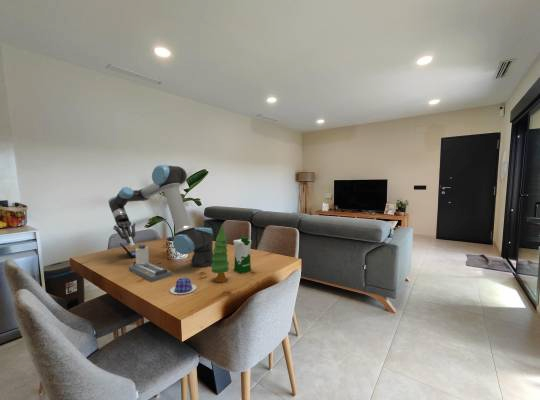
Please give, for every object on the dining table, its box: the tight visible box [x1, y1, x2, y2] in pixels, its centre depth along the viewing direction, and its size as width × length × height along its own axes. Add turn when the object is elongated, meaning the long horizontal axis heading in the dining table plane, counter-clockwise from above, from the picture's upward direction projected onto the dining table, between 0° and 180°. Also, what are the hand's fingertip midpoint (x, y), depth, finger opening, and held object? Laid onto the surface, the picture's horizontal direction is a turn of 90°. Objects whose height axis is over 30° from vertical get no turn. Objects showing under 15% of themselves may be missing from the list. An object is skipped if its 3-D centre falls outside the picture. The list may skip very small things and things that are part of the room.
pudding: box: [169, 277, 197, 295], centre depth 118 cm, size 12×12×5 cm
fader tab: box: [135, 244, 150, 266], centre depth 145 cm, size 5×6×12 cm
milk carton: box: [233, 236, 252, 274], centre depth 144 cm, size 9×9×20 cm
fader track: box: [128, 260, 173, 283], centre depth 140 cm, size 28×11×4 cm, turn 51°
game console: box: [119, 242, 136, 259], centre depth 175 cm, size 16×14×9 cm
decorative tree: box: [210, 223, 230, 283], centre depth 129 cm, size 10×9×30 cm
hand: (132, 246), depth 152 cm, fingers closed
